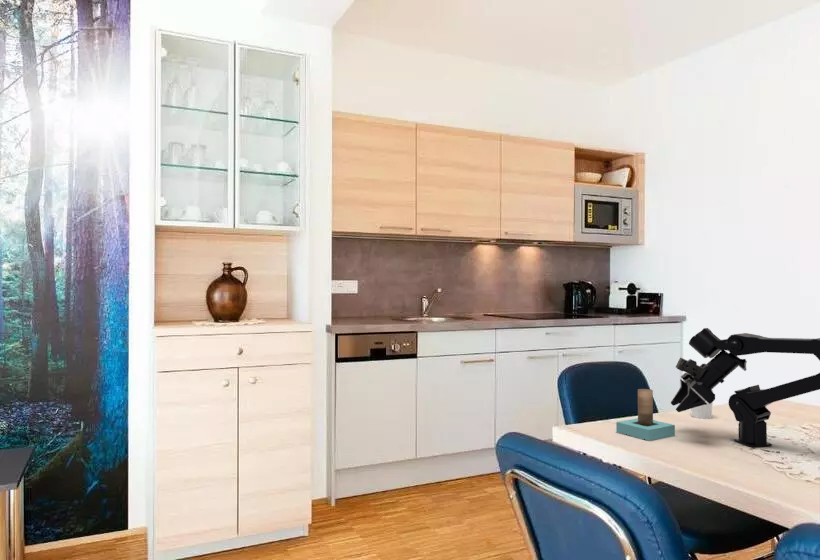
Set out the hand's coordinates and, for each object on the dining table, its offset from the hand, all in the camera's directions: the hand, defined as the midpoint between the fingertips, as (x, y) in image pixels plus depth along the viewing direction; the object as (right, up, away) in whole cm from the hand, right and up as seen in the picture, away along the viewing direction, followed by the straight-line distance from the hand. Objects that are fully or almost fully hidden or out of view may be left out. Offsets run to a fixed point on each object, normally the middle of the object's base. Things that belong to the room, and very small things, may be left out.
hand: (674, 407), depth 168 cm
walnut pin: (-7, -8, +2) cm, 11 cm away
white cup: (+19, -8, +24) cm, 32 cm away
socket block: (-7, -8, +2) cm, 11 cm away
